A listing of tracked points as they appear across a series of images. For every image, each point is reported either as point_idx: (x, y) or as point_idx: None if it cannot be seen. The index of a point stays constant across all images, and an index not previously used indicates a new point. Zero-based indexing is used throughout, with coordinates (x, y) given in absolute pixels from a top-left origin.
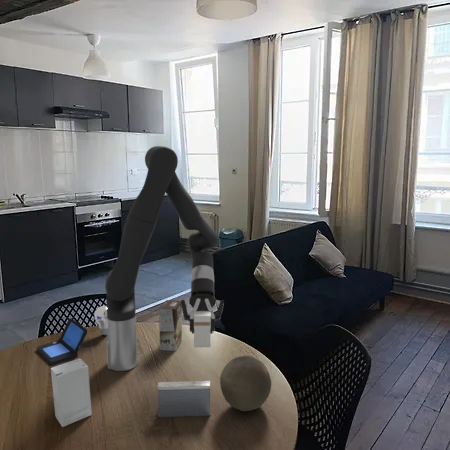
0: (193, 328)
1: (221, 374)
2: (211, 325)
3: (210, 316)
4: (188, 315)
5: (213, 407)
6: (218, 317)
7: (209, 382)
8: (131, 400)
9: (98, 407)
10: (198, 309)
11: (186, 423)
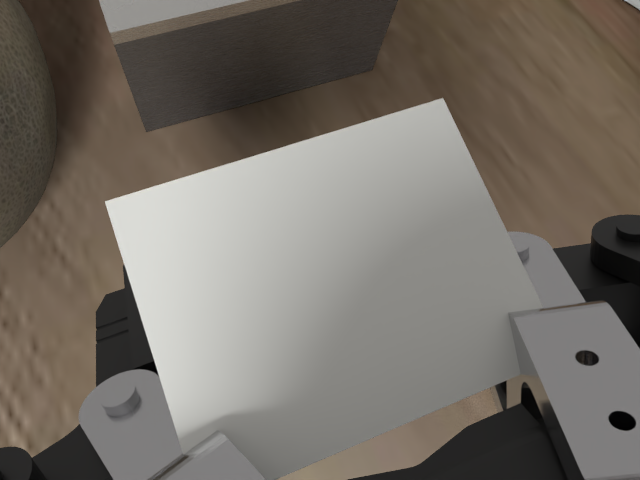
0: None
1: (7, 7)
2: None
3: (112, 201)
4: (602, 280)
5: (136, 157)
6: (6, 458)
7: (108, 15)
8: (532, 113)
9: (621, 41)
10: (508, 422)
11: None
